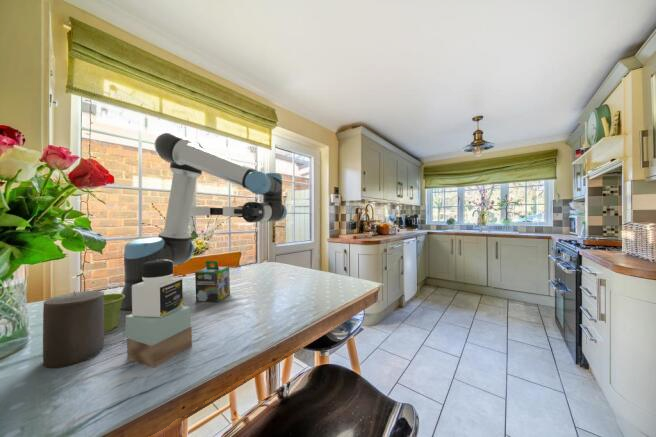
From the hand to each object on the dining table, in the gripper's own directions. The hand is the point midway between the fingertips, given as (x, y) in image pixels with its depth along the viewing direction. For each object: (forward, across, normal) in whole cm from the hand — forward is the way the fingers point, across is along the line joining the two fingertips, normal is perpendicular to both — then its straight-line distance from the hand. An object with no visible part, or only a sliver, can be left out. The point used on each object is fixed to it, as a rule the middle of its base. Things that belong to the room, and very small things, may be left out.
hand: (206, 211), depth 68 cm
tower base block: (+13, -1, -34) cm, 37 cm away
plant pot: (+13, +26, -34) cm, 45 cm away
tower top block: (+14, -1, -29) cm, 32 cm away
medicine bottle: (+13, -1, -24) cm, 28 cm away
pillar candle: (+22, +16, -34) cm, 44 cm away
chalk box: (-18, +18, -34) cm, 43 cm away
